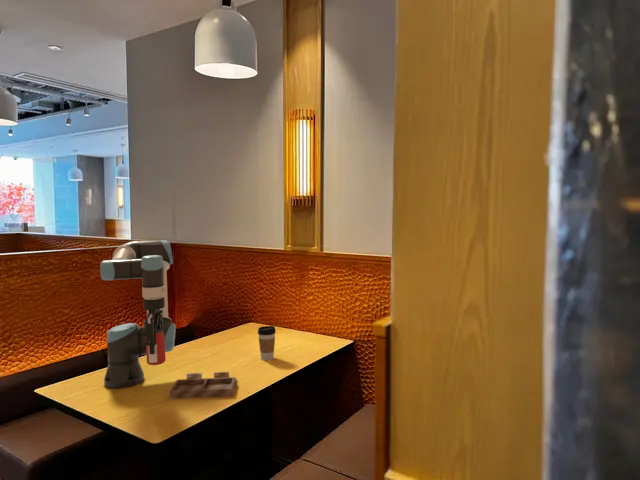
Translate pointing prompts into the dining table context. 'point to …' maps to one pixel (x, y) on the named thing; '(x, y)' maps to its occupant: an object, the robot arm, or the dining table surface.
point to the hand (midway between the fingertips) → (156, 358)
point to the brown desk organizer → (203, 386)
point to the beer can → (158, 348)
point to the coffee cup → (267, 342)
